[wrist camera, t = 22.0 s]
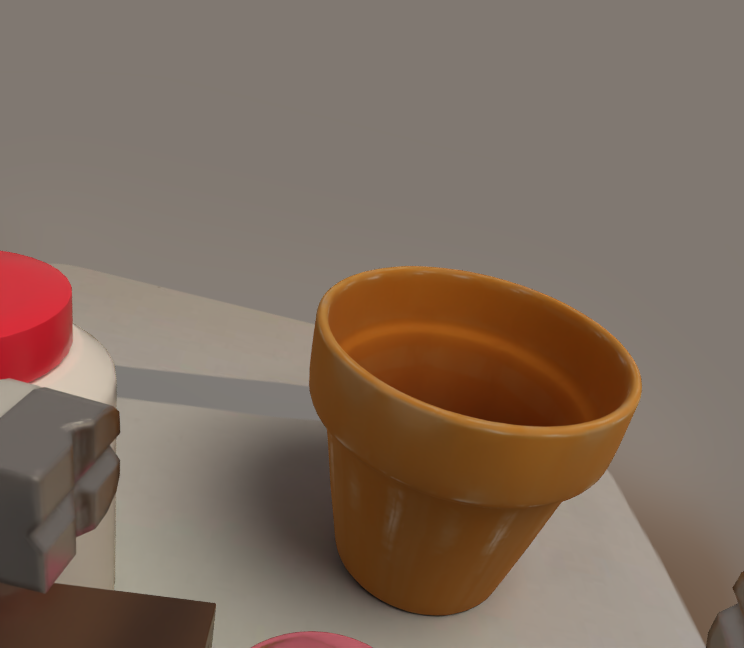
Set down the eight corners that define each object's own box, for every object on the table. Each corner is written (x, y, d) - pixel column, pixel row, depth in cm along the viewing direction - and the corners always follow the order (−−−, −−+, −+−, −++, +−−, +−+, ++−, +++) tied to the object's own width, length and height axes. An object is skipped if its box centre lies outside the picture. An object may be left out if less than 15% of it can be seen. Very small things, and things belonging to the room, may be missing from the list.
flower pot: (601, 668, 31) (714, 439, 26) (289, 676, 28) (335, 419, 23) (503, 464, 44) (564, 278, 38) (278, 455, 41) (306, 252, 35)
